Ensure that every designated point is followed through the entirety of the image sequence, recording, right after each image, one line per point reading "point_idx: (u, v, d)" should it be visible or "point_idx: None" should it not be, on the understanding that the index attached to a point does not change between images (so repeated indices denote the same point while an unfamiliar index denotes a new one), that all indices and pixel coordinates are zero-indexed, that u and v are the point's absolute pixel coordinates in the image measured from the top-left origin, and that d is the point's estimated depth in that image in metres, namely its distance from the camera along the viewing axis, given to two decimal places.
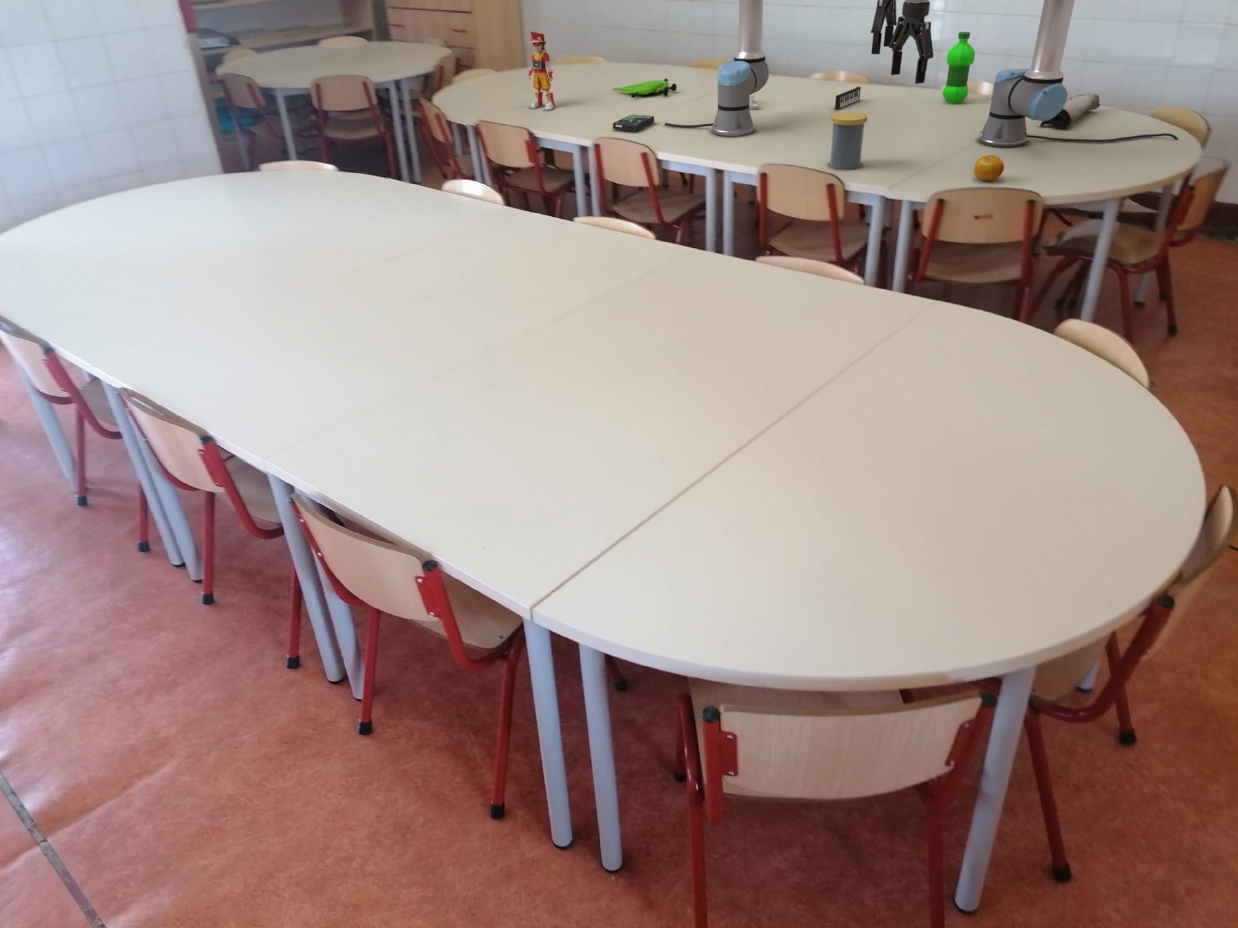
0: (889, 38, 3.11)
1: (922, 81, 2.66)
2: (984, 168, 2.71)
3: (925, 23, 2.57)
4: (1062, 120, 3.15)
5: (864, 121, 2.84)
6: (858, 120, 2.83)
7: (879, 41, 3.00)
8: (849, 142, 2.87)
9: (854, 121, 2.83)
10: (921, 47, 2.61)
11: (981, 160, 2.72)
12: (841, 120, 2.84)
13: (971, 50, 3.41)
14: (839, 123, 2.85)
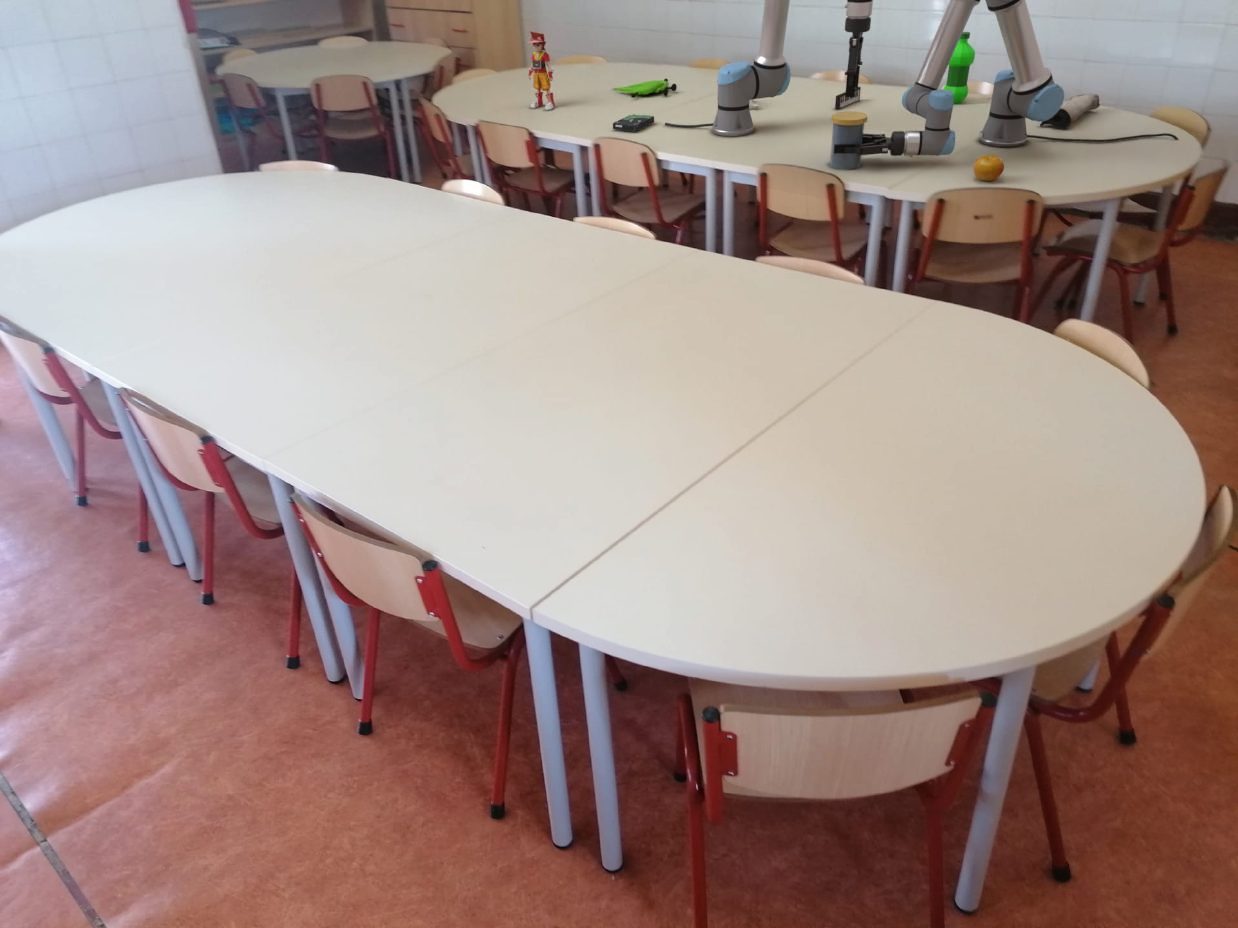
0: None
1: None
2: (984, 168, 2.71)
3: None
4: (1062, 120, 3.15)
5: (864, 121, 2.84)
6: (858, 120, 2.83)
7: None
8: (849, 142, 2.87)
9: (854, 121, 2.83)
10: None
11: (981, 160, 2.72)
12: (841, 120, 2.84)
13: (971, 50, 3.41)
14: (839, 123, 2.85)
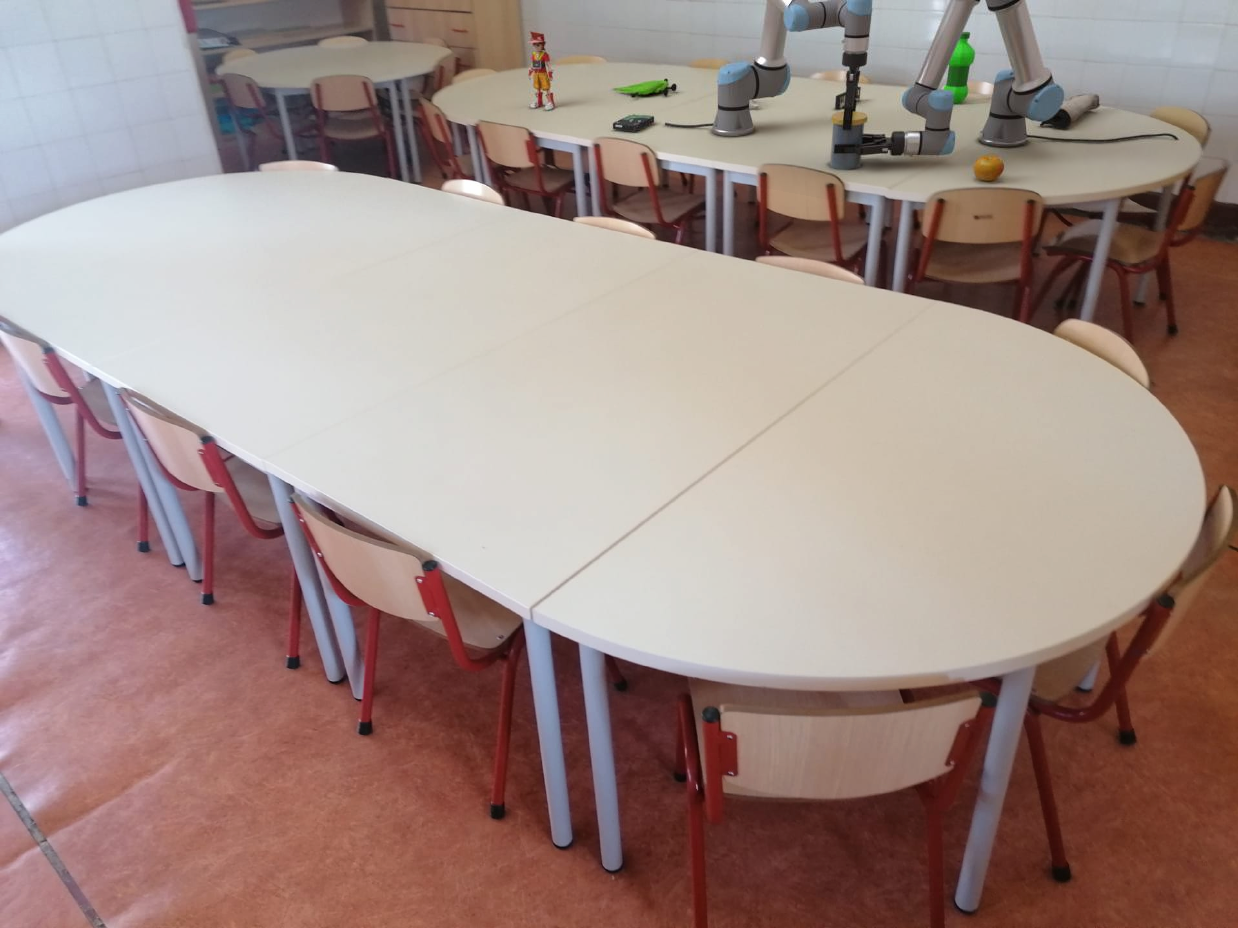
0: None
1: None
2: (984, 168, 2.71)
3: None
4: (1062, 120, 3.15)
5: (864, 121, 2.84)
6: (858, 120, 2.83)
7: None
8: (850, 142, 2.87)
9: (854, 121, 2.83)
10: None
11: (981, 160, 2.72)
12: (841, 120, 2.84)
13: (971, 50, 3.41)
14: (839, 123, 2.85)
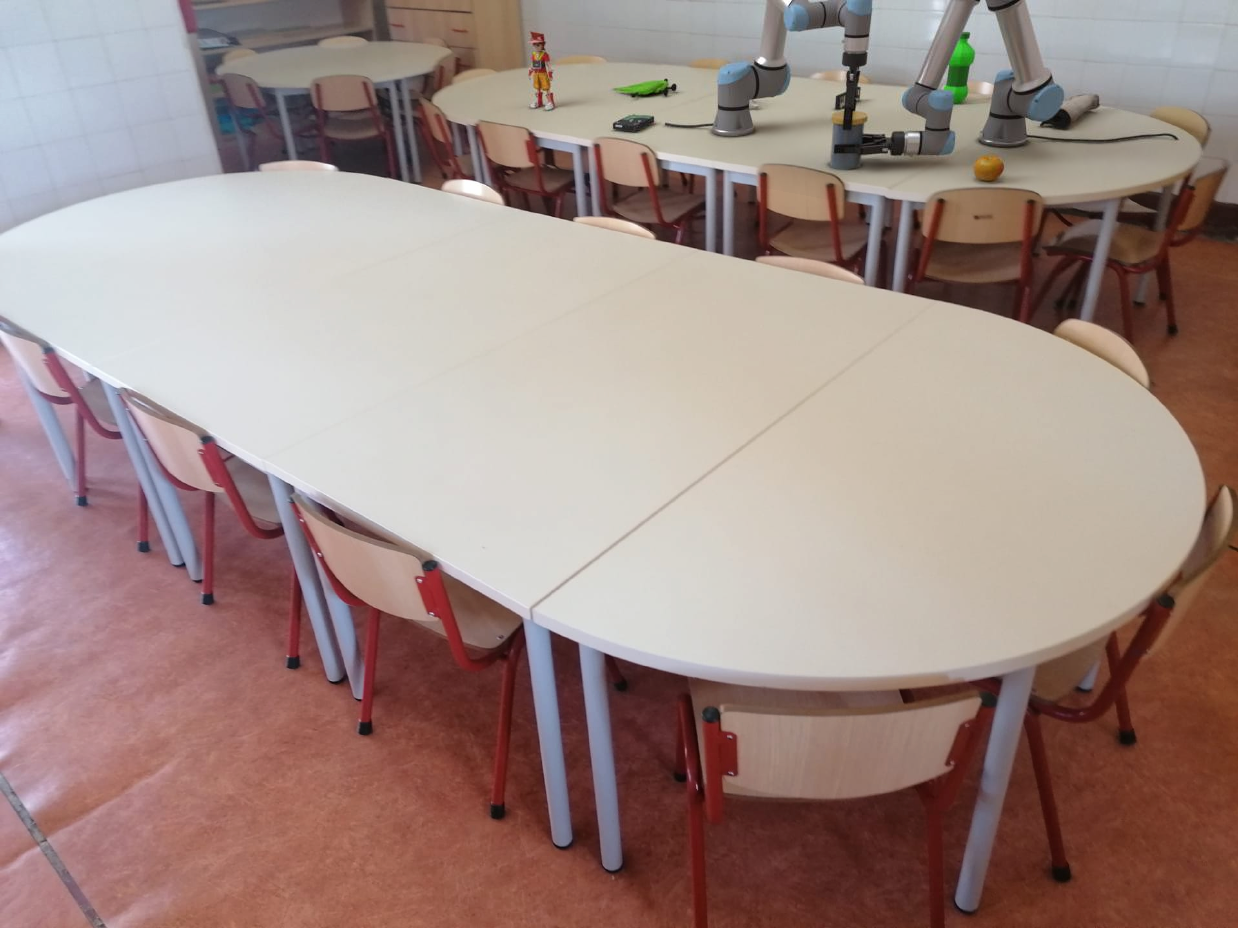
0: None
1: None
2: (984, 168, 2.71)
3: None
4: (1062, 120, 3.15)
5: None
6: None
7: None
8: (850, 142, 2.87)
9: None
10: None
11: (981, 160, 2.72)
12: (866, 117, 2.85)
13: (971, 50, 3.41)
14: (865, 121, 2.85)
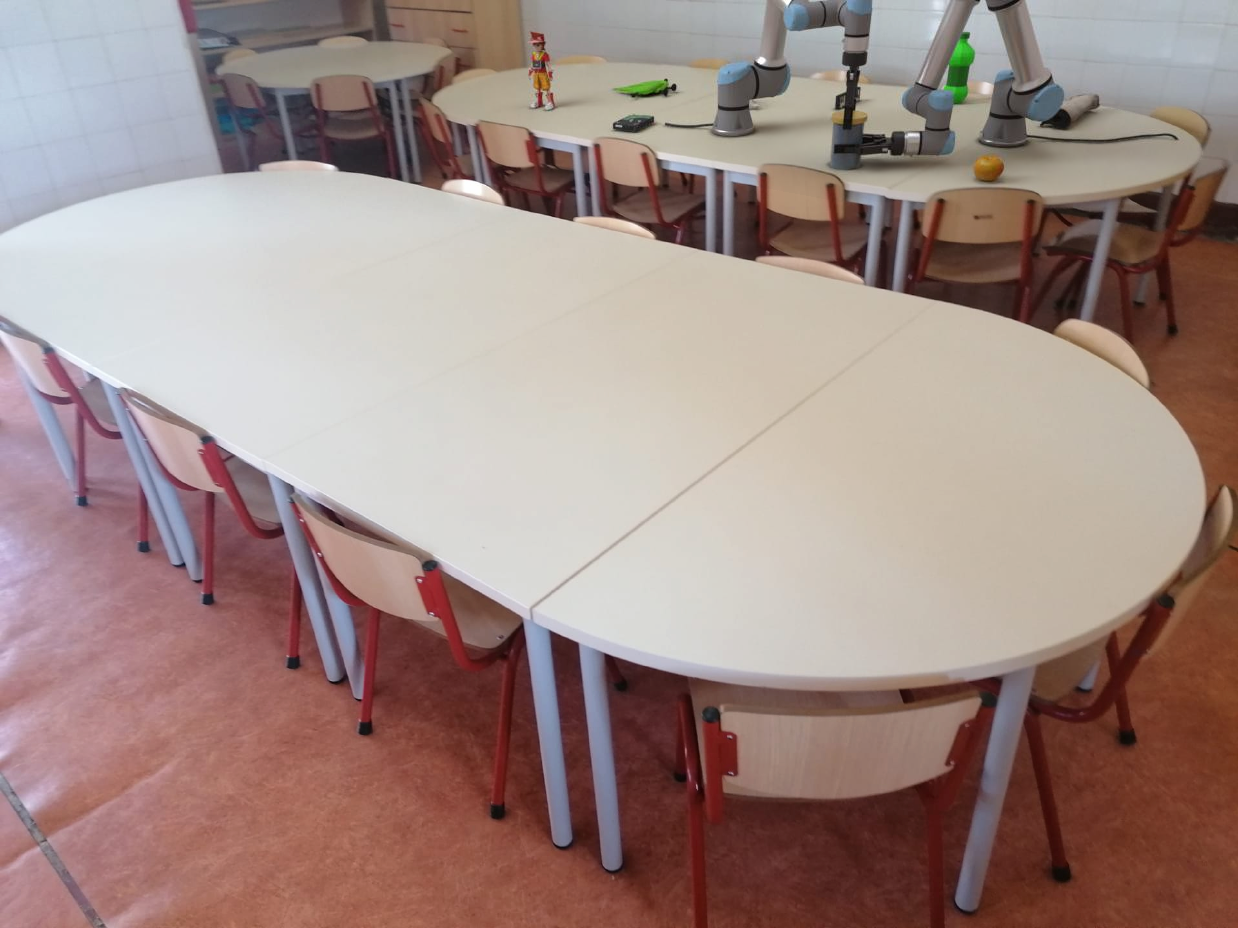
0: None
1: None
2: (984, 168, 2.71)
3: None
4: (1062, 120, 3.15)
5: None
6: None
7: None
8: (849, 142, 2.87)
9: None
10: None
11: (981, 160, 2.72)
12: None
13: (971, 50, 3.41)
14: None
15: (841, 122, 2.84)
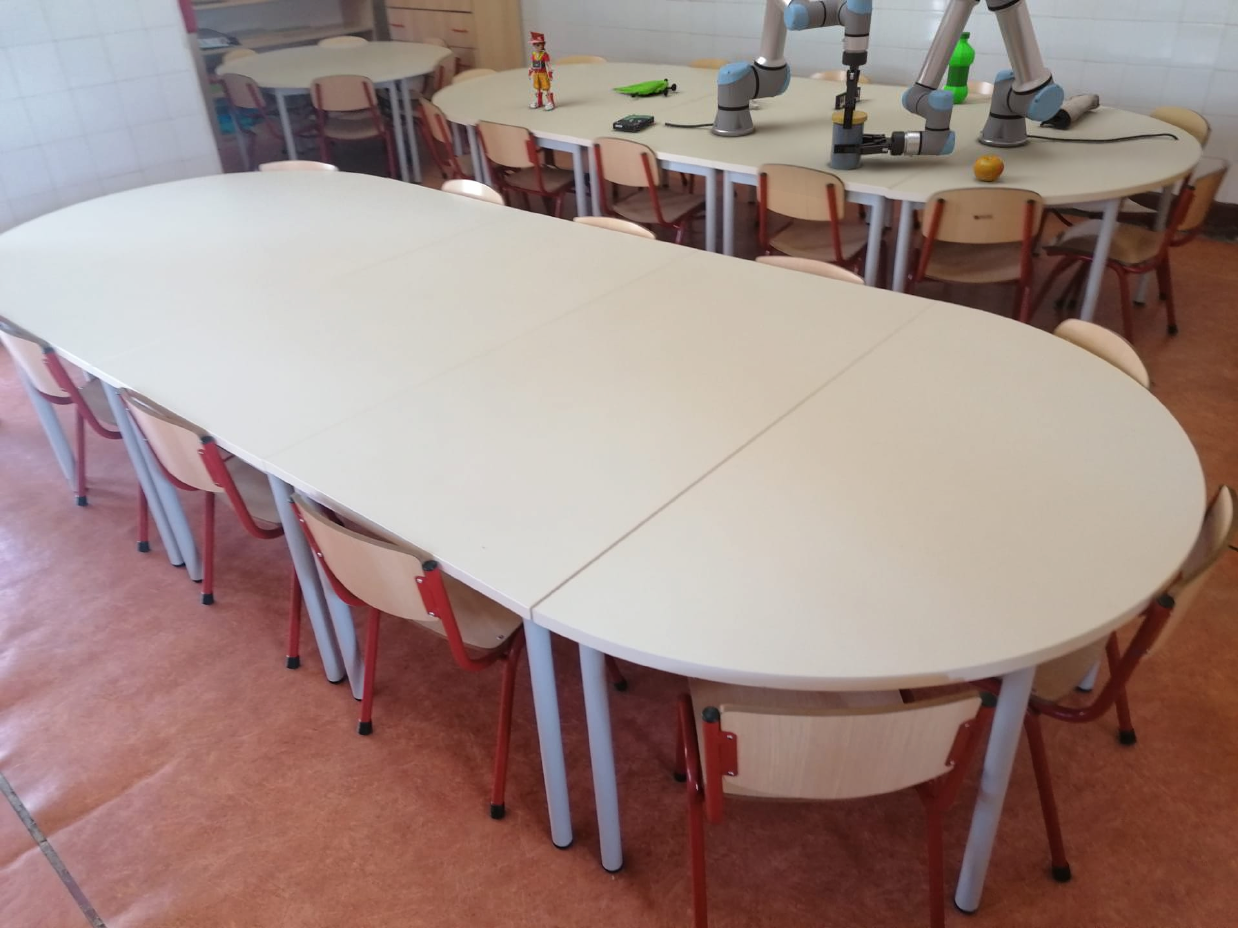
0: None
1: None
2: (984, 168, 2.71)
3: None
4: (1062, 120, 3.15)
5: None
6: (838, 119, 2.84)
7: None
8: (849, 142, 2.87)
9: (835, 118, 2.85)
10: None
11: (981, 160, 2.72)
12: (832, 115, 2.88)
13: (971, 50, 3.41)
14: None
15: (866, 119, 2.85)
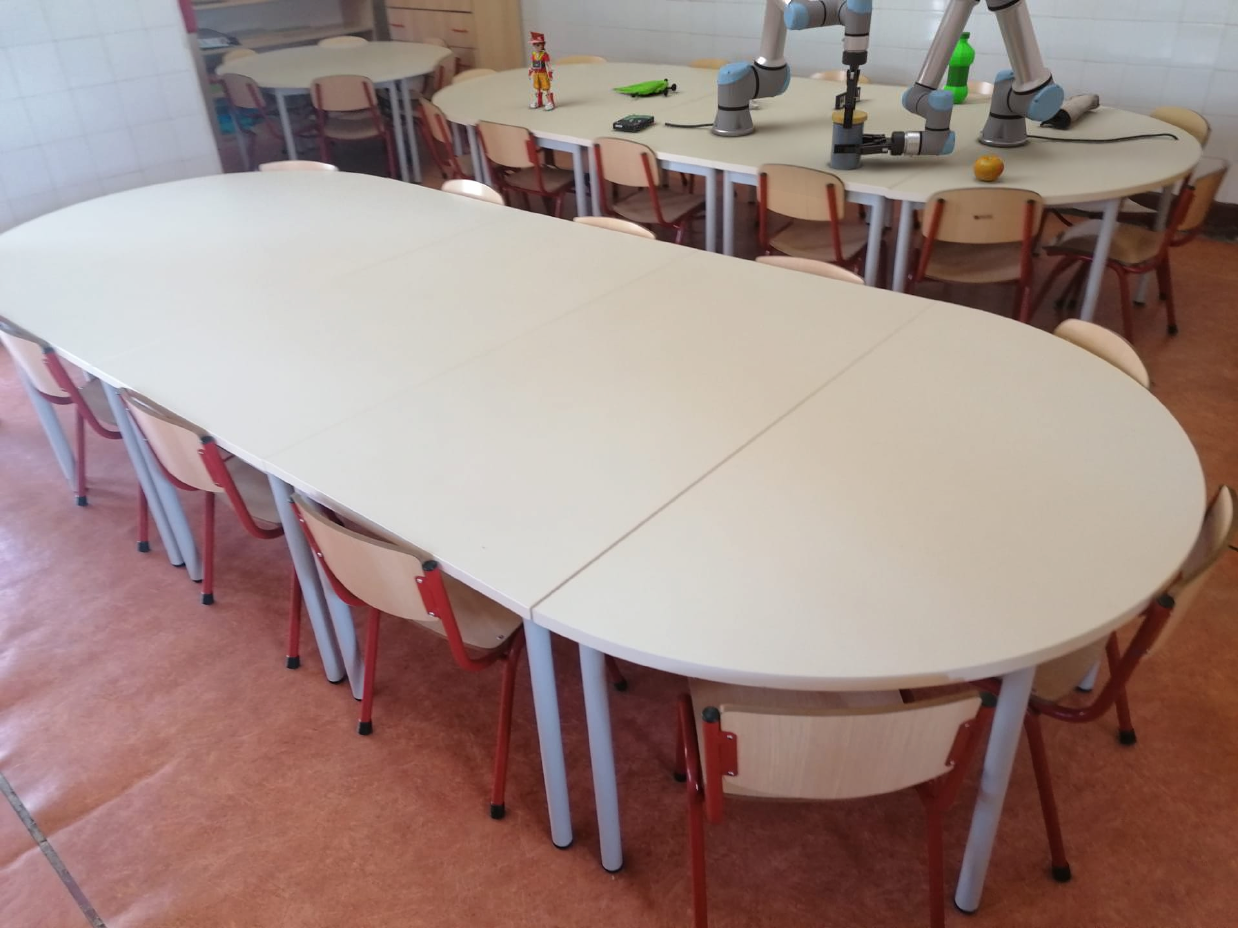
0: None
1: None
2: (984, 168, 2.71)
3: None
4: (1062, 120, 3.15)
5: None
6: (865, 117, 2.84)
7: None
8: (849, 142, 2.87)
9: (862, 118, 2.83)
10: None
11: (981, 160, 2.72)
12: None
13: (971, 50, 3.41)
14: None
15: None
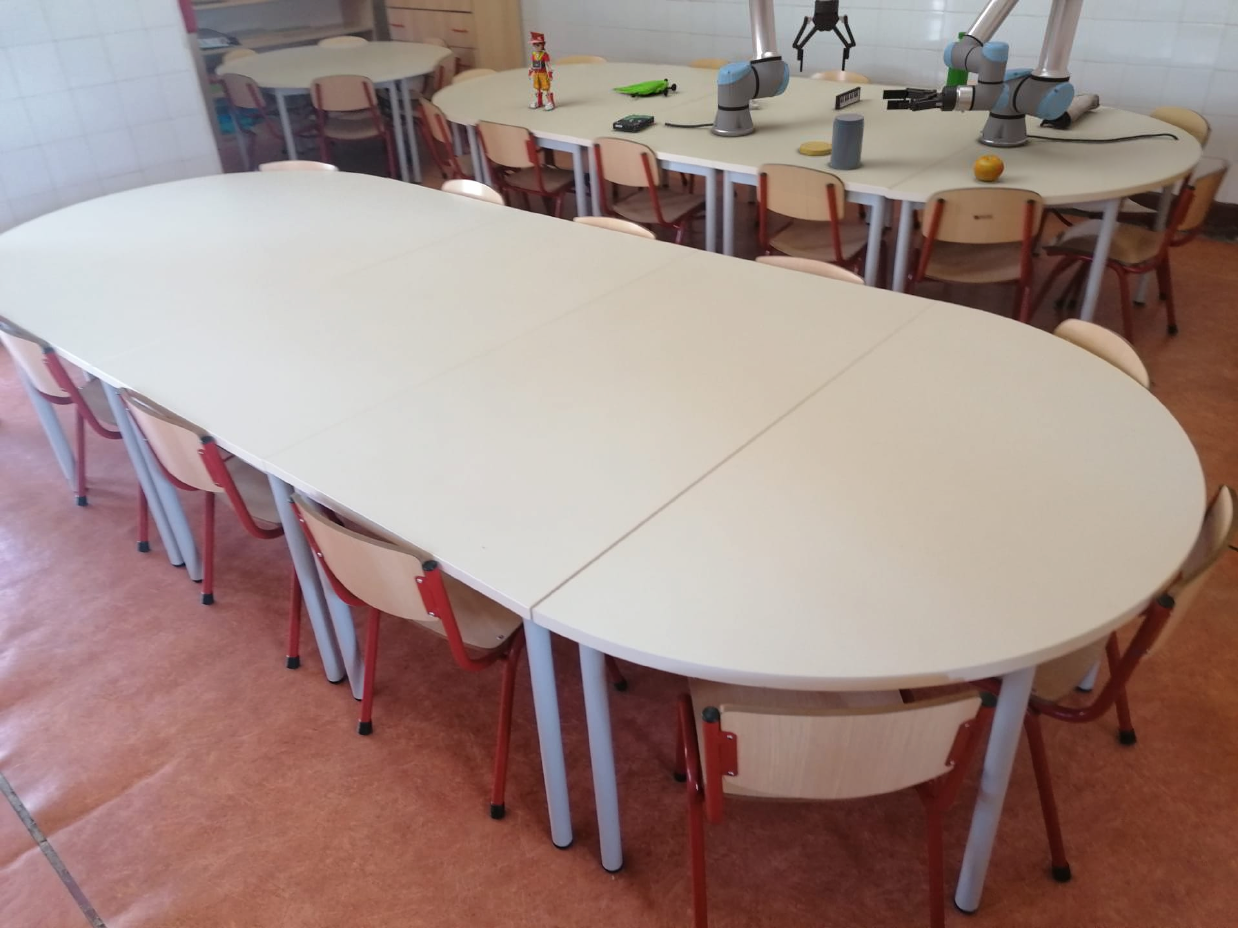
0: (842, 61, 2.93)
1: None
2: (984, 168, 2.71)
3: None
4: (1062, 120, 3.15)
5: None
6: None
7: (800, 58, 2.94)
8: (849, 142, 2.87)
9: None
10: None
11: (981, 160, 2.72)
12: None
13: None
14: None
15: None
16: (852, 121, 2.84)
